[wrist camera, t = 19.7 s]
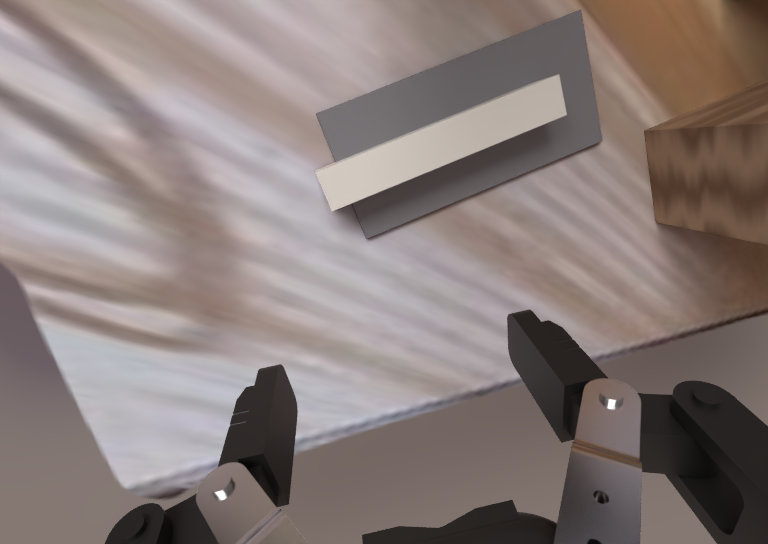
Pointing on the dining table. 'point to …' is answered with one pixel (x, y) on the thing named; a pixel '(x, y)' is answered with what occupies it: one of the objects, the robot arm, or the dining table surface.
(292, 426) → the robot arm
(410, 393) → the dining table surface
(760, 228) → the brown wooden box
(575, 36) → the mat
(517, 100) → the bar
